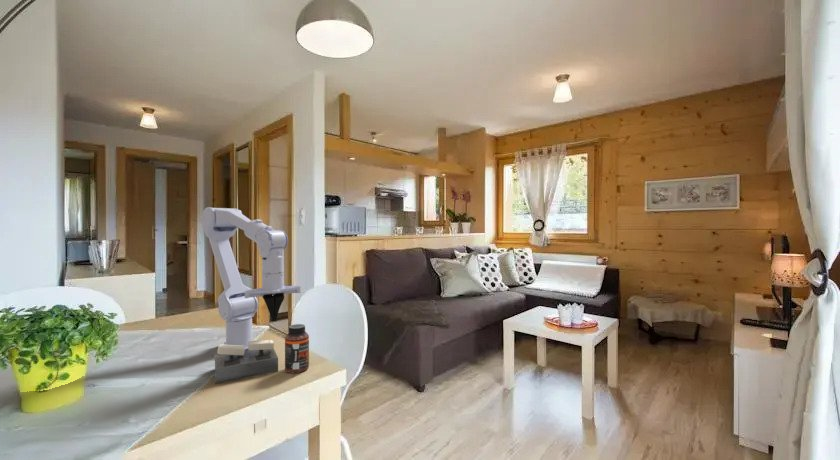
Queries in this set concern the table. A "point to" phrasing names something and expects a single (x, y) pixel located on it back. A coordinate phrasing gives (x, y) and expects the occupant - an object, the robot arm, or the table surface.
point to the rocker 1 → (231, 349)
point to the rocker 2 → (260, 345)
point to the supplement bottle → (296, 349)
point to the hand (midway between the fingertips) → (273, 320)
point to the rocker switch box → (245, 365)
